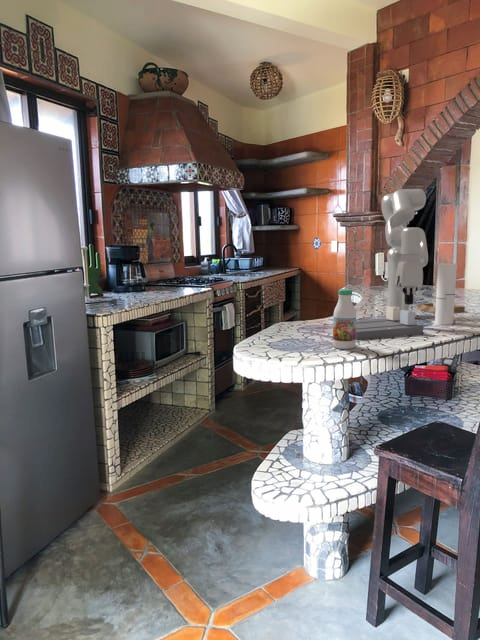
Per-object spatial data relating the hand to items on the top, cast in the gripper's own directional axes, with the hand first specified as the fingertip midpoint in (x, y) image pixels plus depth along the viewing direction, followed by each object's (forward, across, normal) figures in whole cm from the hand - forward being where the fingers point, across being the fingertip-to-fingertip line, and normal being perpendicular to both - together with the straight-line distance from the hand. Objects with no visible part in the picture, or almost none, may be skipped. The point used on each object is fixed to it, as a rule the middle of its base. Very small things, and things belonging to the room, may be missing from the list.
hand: (408, 304), depth 190 cm
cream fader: (+6, +7, -1) cm, 9 cm away
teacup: (+9, -37, -28) cm, 47 cm away
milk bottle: (+11, +40, +21) cm, 46 cm away
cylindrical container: (+9, -18, -2) cm, 21 cm away
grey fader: (+6, +7, +9) cm, 13 cm away
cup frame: (+8, -38, -28) cm, 48 cm away
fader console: (+10, +16, +4) cm, 20 cm away
